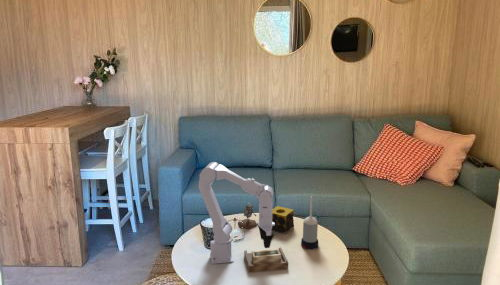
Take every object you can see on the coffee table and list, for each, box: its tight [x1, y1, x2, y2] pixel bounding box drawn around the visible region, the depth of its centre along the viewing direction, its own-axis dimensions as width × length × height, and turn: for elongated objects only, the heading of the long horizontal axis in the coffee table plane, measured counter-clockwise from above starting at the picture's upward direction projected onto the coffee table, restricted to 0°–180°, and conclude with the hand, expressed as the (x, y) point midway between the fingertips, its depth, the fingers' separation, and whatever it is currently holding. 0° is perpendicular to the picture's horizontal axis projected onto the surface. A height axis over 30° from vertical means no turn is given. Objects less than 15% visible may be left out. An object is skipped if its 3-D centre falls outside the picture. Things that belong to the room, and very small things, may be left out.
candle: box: [271, 205, 295, 235], centre depth 198 cm, size 10×10×10 cm
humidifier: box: [300, 195, 319, 250], centre depth 178 cm, size 8×8×25 cm
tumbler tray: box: [251, 248, 281, 264], centre depth 164 cm, size 12×5×4 cm, turn 100°
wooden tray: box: [243, 247, 289, 274], centre depth 166 cm, size 17×13×3 cm
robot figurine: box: [237, 202, 258, 230], centre depth 201 cm, size 11×9×12 cm
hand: (265, 243), depth 164 cm, fingers open, 7 cm apart
